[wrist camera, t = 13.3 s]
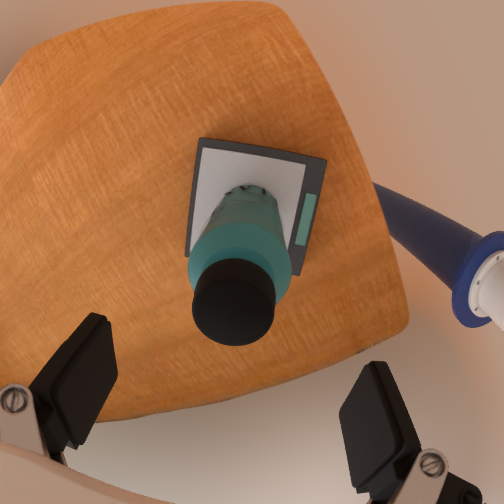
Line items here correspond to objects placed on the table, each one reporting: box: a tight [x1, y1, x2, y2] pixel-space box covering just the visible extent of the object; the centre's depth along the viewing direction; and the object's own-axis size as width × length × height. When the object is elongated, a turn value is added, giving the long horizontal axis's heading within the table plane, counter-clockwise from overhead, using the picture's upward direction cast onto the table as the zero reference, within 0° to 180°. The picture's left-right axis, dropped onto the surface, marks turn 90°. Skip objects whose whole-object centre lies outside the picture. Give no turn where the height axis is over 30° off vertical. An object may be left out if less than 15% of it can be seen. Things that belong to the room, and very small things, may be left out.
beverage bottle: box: [188, 183, 292, 346], centre depth 22 cm, size 6×7×20 cm
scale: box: [185, 138, 327, 276], centre depth 33 cm, size 14×14×3 cm
